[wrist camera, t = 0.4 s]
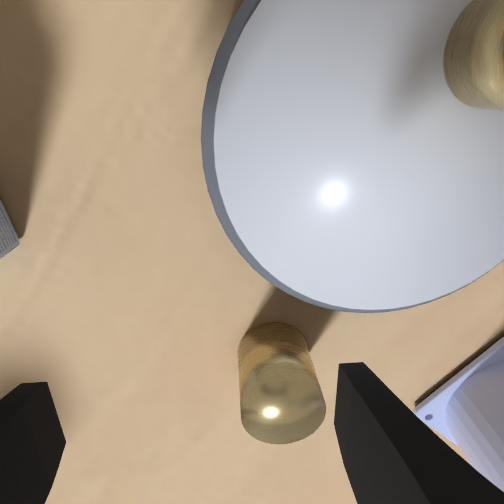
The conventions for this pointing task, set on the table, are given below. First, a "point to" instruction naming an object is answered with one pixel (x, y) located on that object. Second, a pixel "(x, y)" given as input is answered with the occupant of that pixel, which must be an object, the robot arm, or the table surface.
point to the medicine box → (6, 233)
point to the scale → (352, 153)
